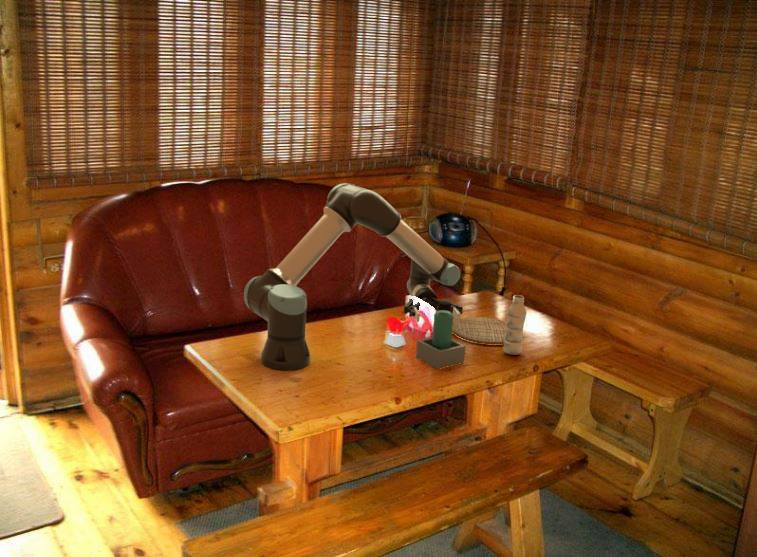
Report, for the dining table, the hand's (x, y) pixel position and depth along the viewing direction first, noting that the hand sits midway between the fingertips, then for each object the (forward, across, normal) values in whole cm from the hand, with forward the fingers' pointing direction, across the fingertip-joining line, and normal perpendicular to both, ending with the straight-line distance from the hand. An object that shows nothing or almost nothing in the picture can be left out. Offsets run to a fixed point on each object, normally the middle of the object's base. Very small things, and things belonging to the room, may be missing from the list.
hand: (438, 317), depth 268 cm
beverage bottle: (+8, 0, -12) cm, 14 cm away
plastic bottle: (+2, -26, -12) cm, 29 cm away
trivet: (-18, -22, -12) cm, 31 cm away
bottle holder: (+8, 0, -12) cm, 14 cm away
